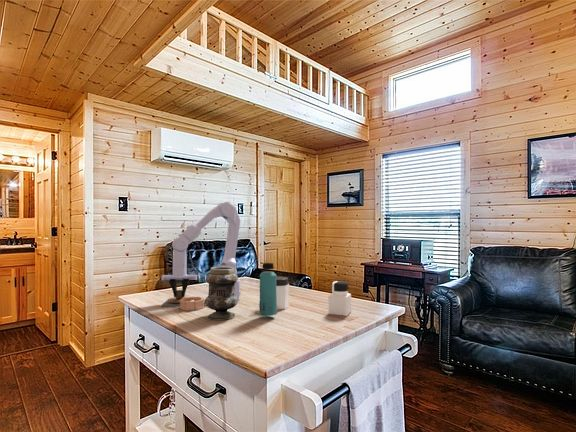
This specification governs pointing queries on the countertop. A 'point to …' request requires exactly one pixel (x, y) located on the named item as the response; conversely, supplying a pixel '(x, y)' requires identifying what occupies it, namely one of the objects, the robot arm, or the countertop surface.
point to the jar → (282, 292)
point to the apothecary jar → (221, 292)
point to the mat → (170, 304)
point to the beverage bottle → (268, 291)
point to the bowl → (192, 303)
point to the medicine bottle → (340, 299)
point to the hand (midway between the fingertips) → (179, 296)
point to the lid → (177, 298)
